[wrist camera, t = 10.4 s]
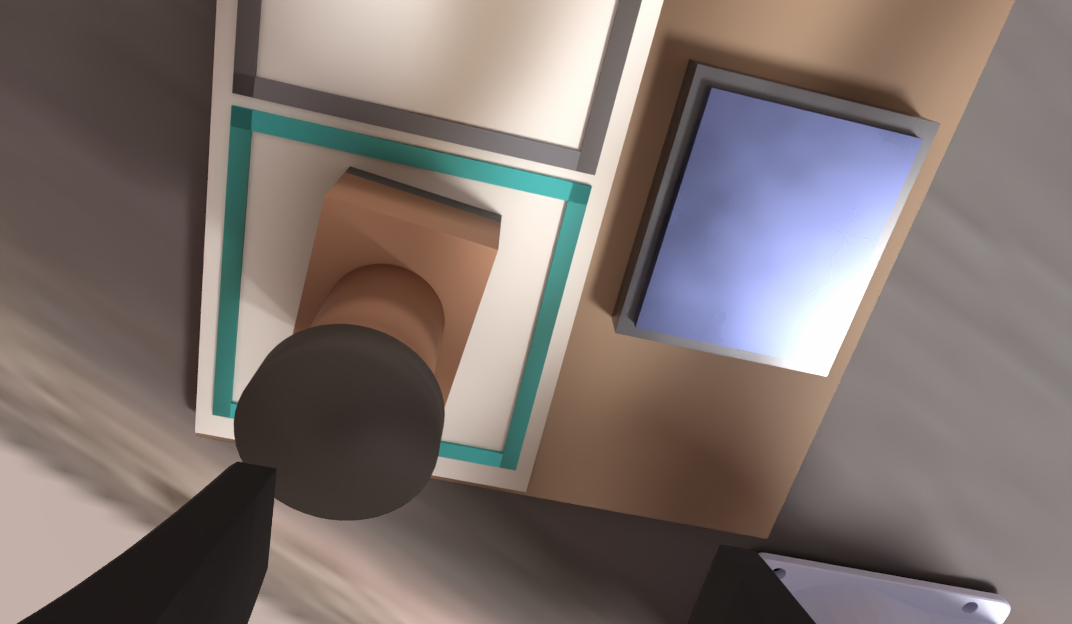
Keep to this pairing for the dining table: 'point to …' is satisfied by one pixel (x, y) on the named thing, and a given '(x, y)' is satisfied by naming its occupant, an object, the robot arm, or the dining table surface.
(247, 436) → the stamp
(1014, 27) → the dining table surface
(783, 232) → the ink pad
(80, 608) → the robot arm
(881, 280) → the stamping board
